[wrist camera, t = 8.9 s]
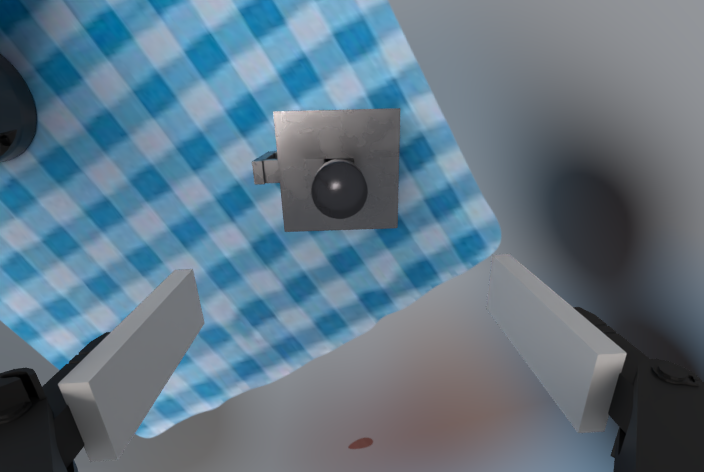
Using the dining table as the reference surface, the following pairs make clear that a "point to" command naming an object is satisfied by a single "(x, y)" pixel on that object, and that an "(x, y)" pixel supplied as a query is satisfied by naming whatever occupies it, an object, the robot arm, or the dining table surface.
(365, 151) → the steel cube with knob
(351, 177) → the plunger
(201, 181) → the dining table surface
